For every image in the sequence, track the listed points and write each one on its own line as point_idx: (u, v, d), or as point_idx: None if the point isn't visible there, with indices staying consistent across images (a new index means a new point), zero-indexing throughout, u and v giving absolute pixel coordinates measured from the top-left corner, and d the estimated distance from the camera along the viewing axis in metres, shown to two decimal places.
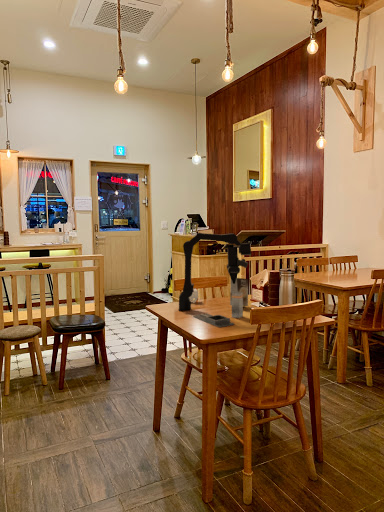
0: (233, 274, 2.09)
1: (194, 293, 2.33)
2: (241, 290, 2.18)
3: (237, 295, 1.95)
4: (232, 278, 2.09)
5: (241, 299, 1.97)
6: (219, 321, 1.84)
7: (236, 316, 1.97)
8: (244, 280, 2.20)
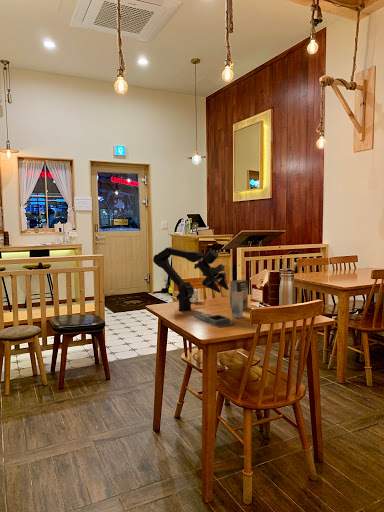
0: (212, 285, 1.99)
1: (194, 293, 2.33)
2: None
3: (237, 295, 1.96)
4: (214, 289, 1.98)
5: (241, 299, 1.97)
6: (219, 321, 1.84)
7: (236, 316, 1.97)
8: (244, 283, 2.17)
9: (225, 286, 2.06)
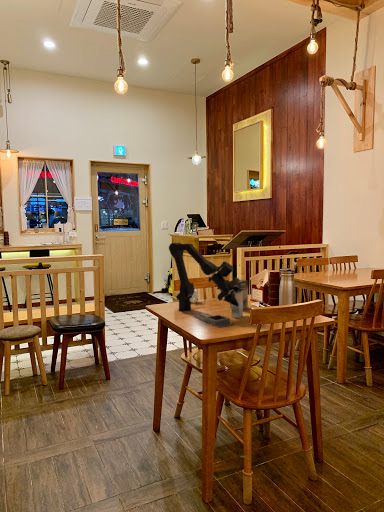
0: (229, 298, 1.96)
1: (194, 293, 2.33)
2: None
3: (237, 295, 1.95)
4: (231, 302, 1.96)
5: (241, 299, 1.97)
6: (219, 321, 1.84)
7: (236, 316, 1.97)
8: (244, 283, 2.17)
9: None
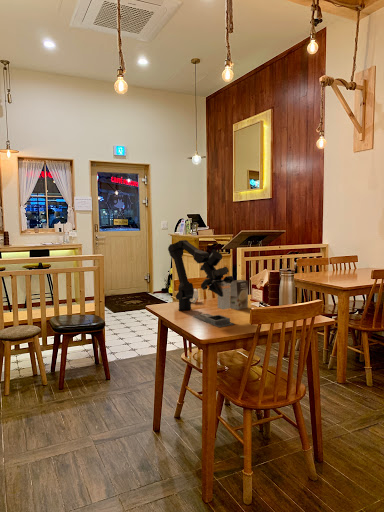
0: (214, 288, 1.89)
1: (194, 293, 2.33)
2: (241, 294, 2.15)
3: (222, 285, 1.87)
4: (216, 292, 1.88)
5: (227, 290, 1.88)
6: (219, 321, 1.84)
7: (221, 307, 1.88)
8: (244, 283, 2.17)
9: None
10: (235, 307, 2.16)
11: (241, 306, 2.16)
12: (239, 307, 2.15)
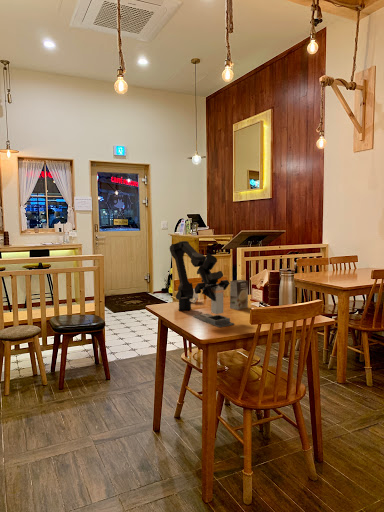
0: (208, 292, 1.88)
1: (194, 293, 2.33)
2: (241, 294, 2.15)
3: (214, 289, 1.85)
4: (209, 296, 1.87)
5: (220, 294, 1.86)
6: (219, 321, 1.84)
7: (214, 311, 1.86)
8: (244, 283, 2.17)
9: None
10: (235, 307, 2.16)
11: (241, 306, 2.16)
12: (239, 307, 2.15)
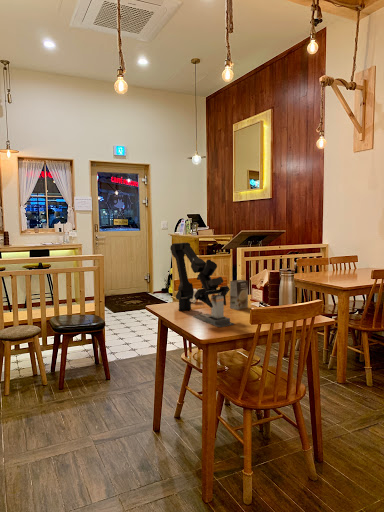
0: (205, 298, 1.87)
1: (194, 293, 2.33)
2: (241, 294, 2.15)
3: (215, 298, 1.85)
4: (207, 303, 1.86)
5: (220, 303, 1.86)
6: (219, 321, 1.84)
7: None
8: (244, 283, 2.17)
9: None
10: (235, 307, 2.16)
11: (241, 306, 2.16)
12: (239, 307, 2.15)
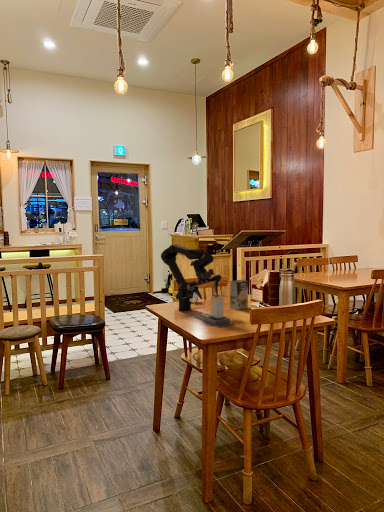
0: None
1: (194, 293, 2.33)
2: (241, 294, 2.15)
3: (215, 298, 1.85)
4: (197, 294, 1.99)
5: (220, 303, 1.86)
6: (219, 321, 1.84)
7: None
8: (244, 283, 2.17)
9: (215, 290, 2.01)
10: (235, 307, 2.16)
11: (241, 306, 2.16)
12: (239, 307, 2.15)
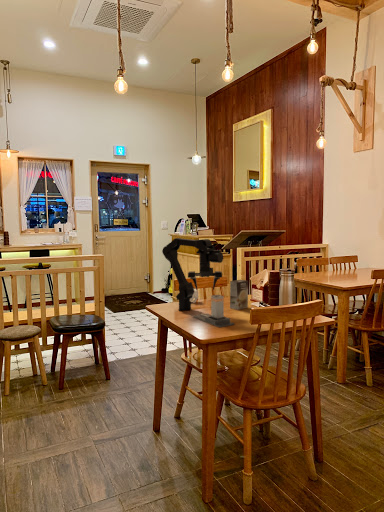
0: None
1: (194, 293, 2.33)
2: (241, 294, 2.15)
3: (215, 298, 1.85)
4: None
5: (220, 303, 1.86)
6: (219, 321, 1.84)
7: None
8: (244, 283, 2.17)
9: (213, 285, 2.07)
10: (235, 307, 2.16)
11: (241, 306, 2.16)
12: (239, 307, 2.15)
